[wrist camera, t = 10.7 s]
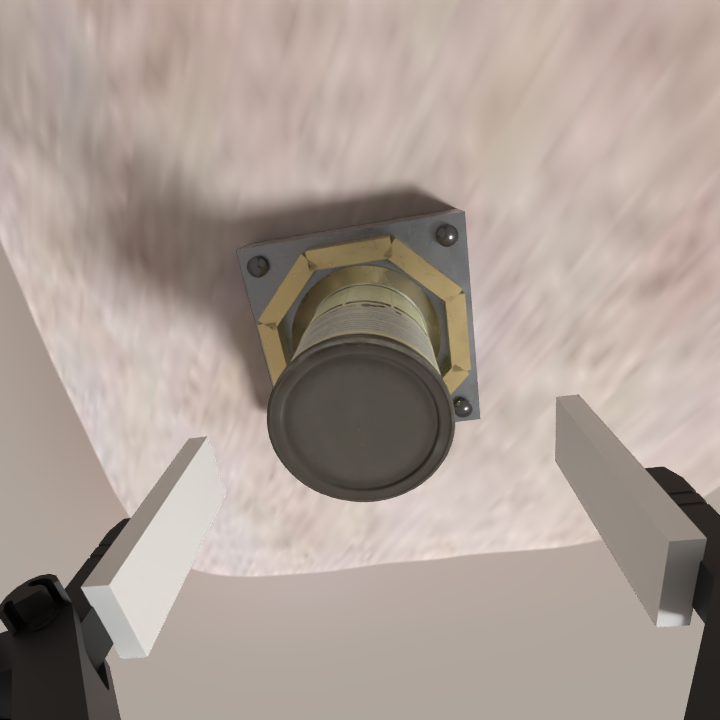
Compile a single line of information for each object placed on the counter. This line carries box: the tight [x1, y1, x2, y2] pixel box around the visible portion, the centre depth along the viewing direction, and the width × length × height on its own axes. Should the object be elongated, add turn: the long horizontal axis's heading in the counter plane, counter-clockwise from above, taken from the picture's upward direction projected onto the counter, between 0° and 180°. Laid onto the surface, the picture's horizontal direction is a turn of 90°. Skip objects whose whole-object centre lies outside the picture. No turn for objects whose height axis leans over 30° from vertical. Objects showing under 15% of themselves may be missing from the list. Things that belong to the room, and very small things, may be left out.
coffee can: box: [267, 282, 455, 502], centre depth 30 cm, size 10×10×14 cm
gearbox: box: [236, 208, 480, 422], centre depth 38 cm, size 18×18×6 cm
